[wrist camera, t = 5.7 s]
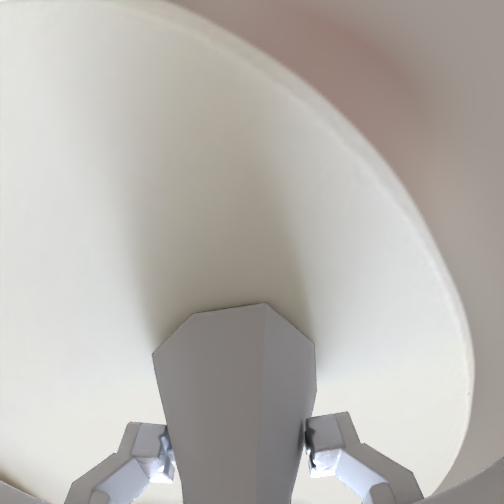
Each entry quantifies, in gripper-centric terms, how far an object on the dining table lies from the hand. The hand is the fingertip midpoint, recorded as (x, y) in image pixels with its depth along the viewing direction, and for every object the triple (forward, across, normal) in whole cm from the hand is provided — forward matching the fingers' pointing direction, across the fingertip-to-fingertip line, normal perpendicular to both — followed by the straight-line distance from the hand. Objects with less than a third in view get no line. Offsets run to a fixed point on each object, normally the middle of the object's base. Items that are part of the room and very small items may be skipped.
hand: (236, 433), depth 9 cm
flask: (+4, 0, 0) cm, 4 cm away
